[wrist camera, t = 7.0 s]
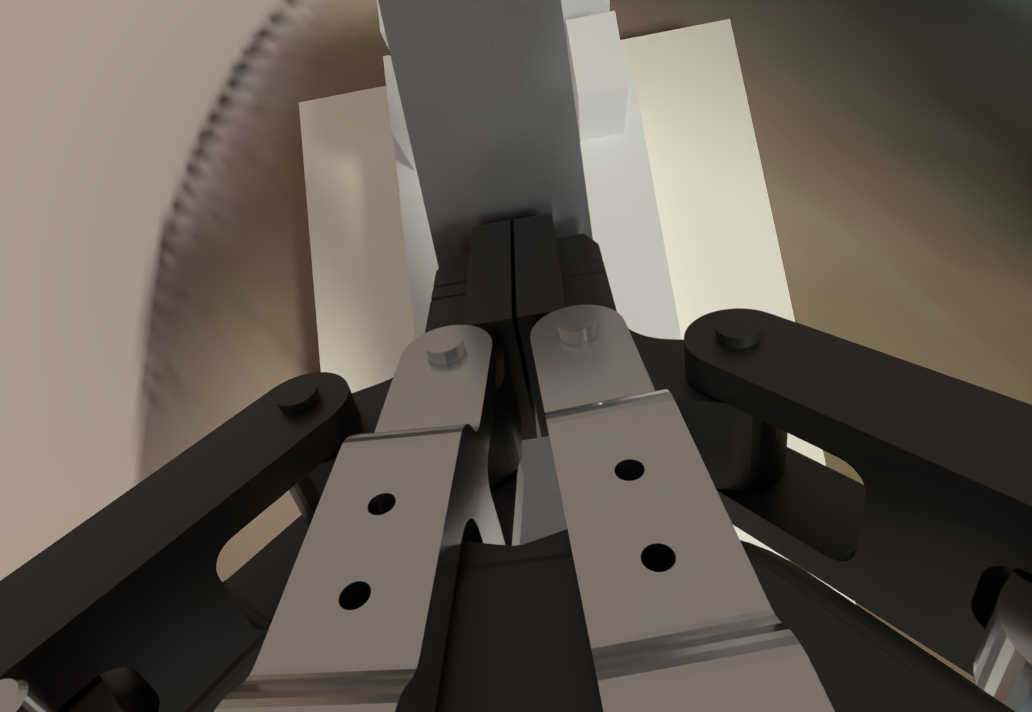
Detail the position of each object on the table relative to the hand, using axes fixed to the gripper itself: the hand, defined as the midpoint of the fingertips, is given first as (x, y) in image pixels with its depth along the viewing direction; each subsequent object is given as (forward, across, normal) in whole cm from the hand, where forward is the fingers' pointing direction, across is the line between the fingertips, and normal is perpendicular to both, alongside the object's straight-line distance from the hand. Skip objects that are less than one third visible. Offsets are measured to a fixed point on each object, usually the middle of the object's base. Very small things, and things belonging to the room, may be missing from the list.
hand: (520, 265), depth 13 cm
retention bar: (+1, 0, +3) cm, 3 cm away
